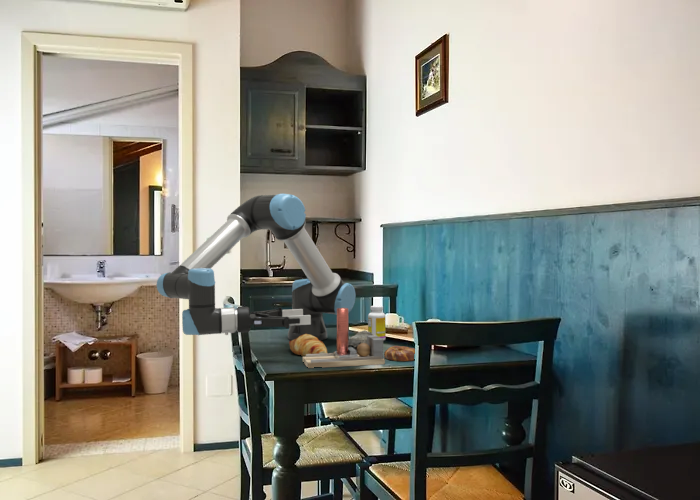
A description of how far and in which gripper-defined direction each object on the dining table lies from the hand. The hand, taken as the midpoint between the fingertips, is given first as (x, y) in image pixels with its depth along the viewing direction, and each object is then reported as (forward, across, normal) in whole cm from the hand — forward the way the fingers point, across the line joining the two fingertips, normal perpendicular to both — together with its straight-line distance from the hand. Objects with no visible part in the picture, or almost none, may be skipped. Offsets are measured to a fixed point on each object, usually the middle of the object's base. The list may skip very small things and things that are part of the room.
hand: (306, 316), depth 183 cm
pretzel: (+31, -3, -16) cm, 35 cm away
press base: (+11, 0, -15) cm, 19 cm away
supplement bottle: (+33, -37, -16) cm, 52 cm away
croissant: (+3, -17, -16) cm, 23 cm away
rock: (+22, -19, -16) cm, 33 cm away
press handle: (+12, 0, -13) cm, 18 cm away
